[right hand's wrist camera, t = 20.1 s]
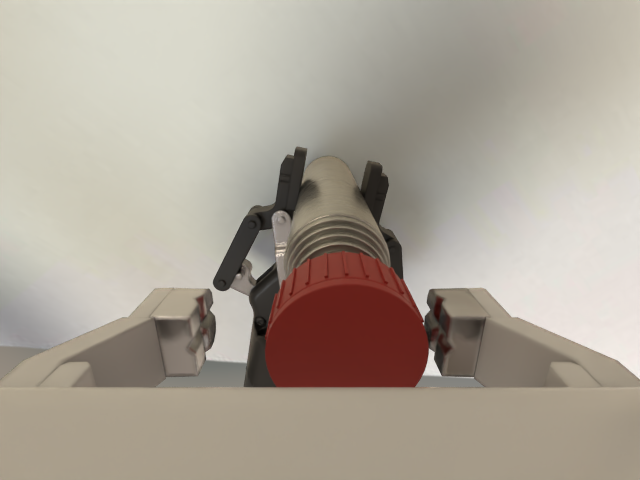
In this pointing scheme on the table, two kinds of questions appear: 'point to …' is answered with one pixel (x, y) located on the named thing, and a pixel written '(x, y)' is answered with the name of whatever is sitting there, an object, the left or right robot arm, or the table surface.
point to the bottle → (331, 217)
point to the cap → (345, 326)
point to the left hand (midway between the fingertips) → (337, 157)
